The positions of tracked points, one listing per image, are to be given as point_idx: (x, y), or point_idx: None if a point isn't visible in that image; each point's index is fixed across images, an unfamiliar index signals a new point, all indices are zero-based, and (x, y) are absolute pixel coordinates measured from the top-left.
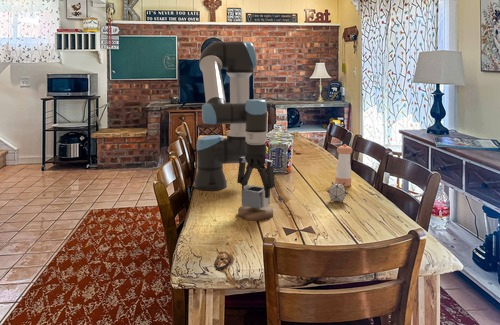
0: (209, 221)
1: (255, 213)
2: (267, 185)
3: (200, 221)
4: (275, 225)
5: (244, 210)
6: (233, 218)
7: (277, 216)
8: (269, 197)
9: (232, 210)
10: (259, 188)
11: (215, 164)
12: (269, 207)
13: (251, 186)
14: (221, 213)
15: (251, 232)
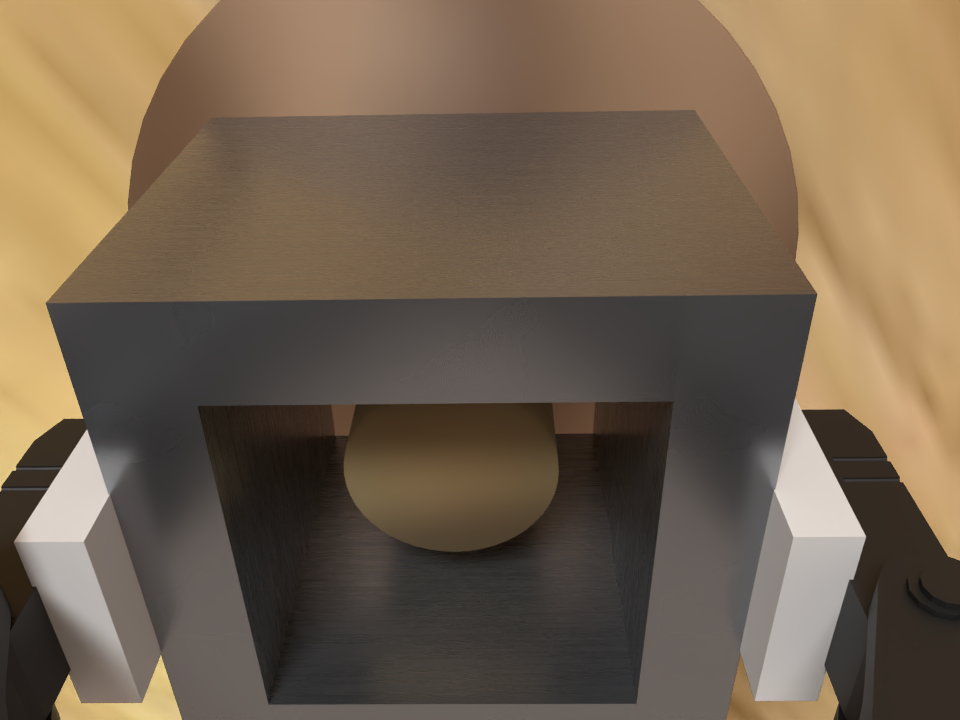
0: (163, 681)
1: (572, 426)
2: (900, 659)
3: (93, 716)
4: (942, 431)
5: (333, 406)
6: None
7: (847, 90)
8: (728, 178)
9: (11, 265)
10: (435, 379)
11: None
12: (631, 2)
13: (141, 445)
14: (19, 447)
15: (747, 690)
